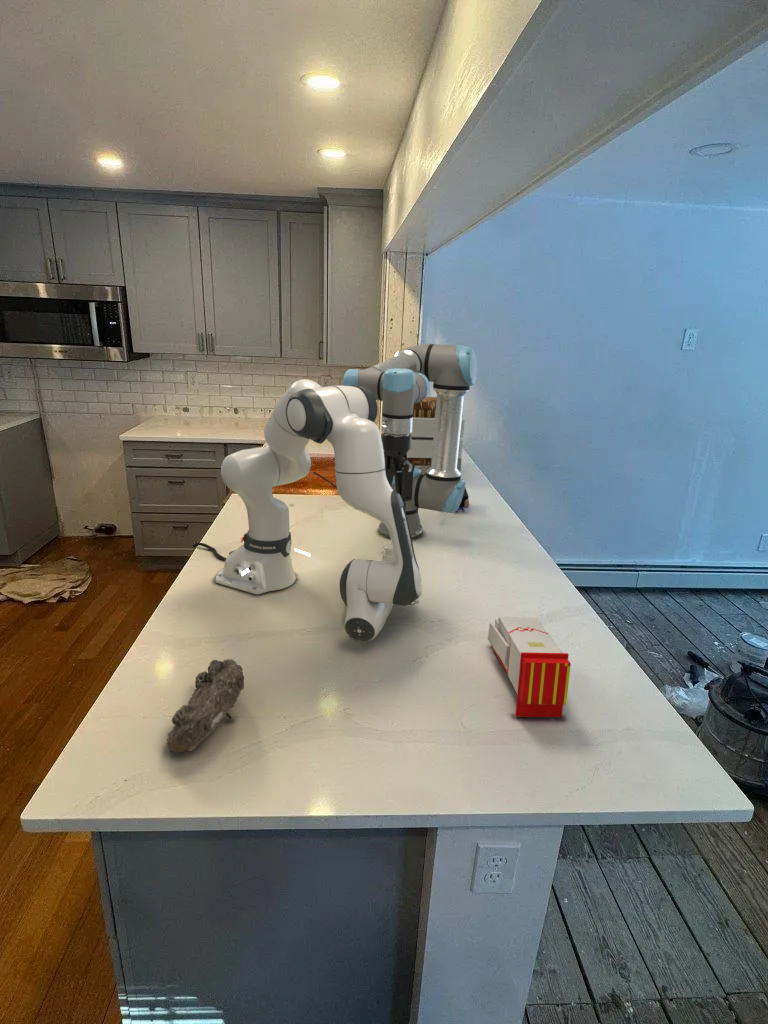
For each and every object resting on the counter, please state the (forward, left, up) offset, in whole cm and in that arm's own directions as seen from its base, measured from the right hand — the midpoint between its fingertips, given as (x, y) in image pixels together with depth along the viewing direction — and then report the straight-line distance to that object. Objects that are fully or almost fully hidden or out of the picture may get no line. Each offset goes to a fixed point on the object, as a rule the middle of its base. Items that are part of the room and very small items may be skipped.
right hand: (392, 521), depth 148 cm
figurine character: (-40, +72, -23) cm, 86 cm away
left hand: (0, +1, -16) cm, 16 cm away
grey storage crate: (-86, +95, -23) cm, 130 cm away
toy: (+44, 0, -23) cm, 49 cm away
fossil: (+16, -58, -23) cm, 64 cm away
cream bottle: (0, 0, -23) cm, 23 cm away
